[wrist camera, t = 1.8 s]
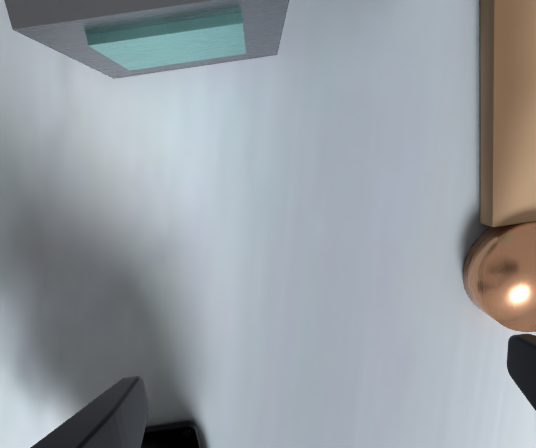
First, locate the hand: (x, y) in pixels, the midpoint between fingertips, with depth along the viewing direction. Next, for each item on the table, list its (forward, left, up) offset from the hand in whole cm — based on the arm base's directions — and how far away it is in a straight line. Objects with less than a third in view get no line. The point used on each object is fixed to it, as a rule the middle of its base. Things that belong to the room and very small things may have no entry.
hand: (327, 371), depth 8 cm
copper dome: (+13, -3, -11) cm, 17 cm away
